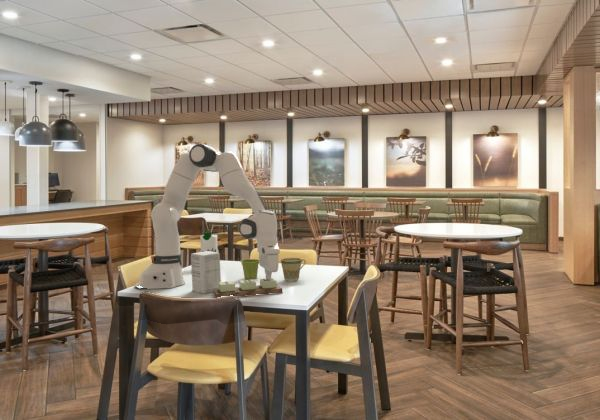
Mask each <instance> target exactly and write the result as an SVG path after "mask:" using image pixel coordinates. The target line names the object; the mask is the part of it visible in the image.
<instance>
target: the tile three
mask: <svg viewBox="0 0 600 420" xmlns="http://www.w3.org/2000/svg"><path fill="white" fill-rule="evenodd" d="M259 285H260V286H261V287H262V288H263V289H264V288H276V287H277V285H278V282H277V280H276V279H275V278H274V277H271V280H267V279H266V278H259Z"/></svg>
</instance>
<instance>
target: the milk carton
mask: <svg viewBox="0 0 600 420" xmlns="http://www.w3.org/2000/svg"><path fill="white" fill-rule="evenodd" d="M199 238H200V252H204V251H211V252H218V253H219V251H218V249H219V248H218V234H212V231H204V232H203V234H202V235H200V237H199Z"/></svg>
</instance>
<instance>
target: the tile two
mask: <svg viewBox="0 0 600 420" xmlns="http://www.w3.org/2000/svg"><path fill="white" fill-rule="evenodd" d="M238 282H239V285H238V287H240V288H241V290H251V289H256V285H257V282H256V281H255V280H254V278H253V279H242V280H238Z"/></svg>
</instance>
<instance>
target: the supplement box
mask: <svg viewBox="0 0 600 420" xmlns="http://www.w3.org/2000/svg"><path fill="white" fill-rule="evenodd" d="M220 255H221V253H220V252H219V251H218V252H211V251H204V252H201V251H199V252H193V253H191V254H190V262H191V263H190V264H191V265H190V267H191V283H192V284H191V285H192V286H191V287H192V289H191V290H192V292H197V293H201V294H209V293H213V289H219V285H218V282H222V280H221V278H222V277H221V263H220V262H221V257H220Z"/></svg>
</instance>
